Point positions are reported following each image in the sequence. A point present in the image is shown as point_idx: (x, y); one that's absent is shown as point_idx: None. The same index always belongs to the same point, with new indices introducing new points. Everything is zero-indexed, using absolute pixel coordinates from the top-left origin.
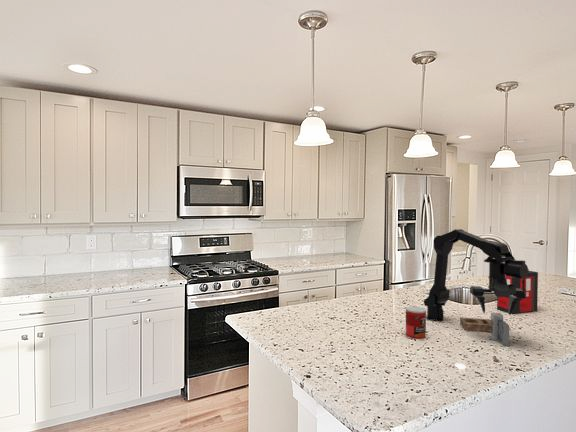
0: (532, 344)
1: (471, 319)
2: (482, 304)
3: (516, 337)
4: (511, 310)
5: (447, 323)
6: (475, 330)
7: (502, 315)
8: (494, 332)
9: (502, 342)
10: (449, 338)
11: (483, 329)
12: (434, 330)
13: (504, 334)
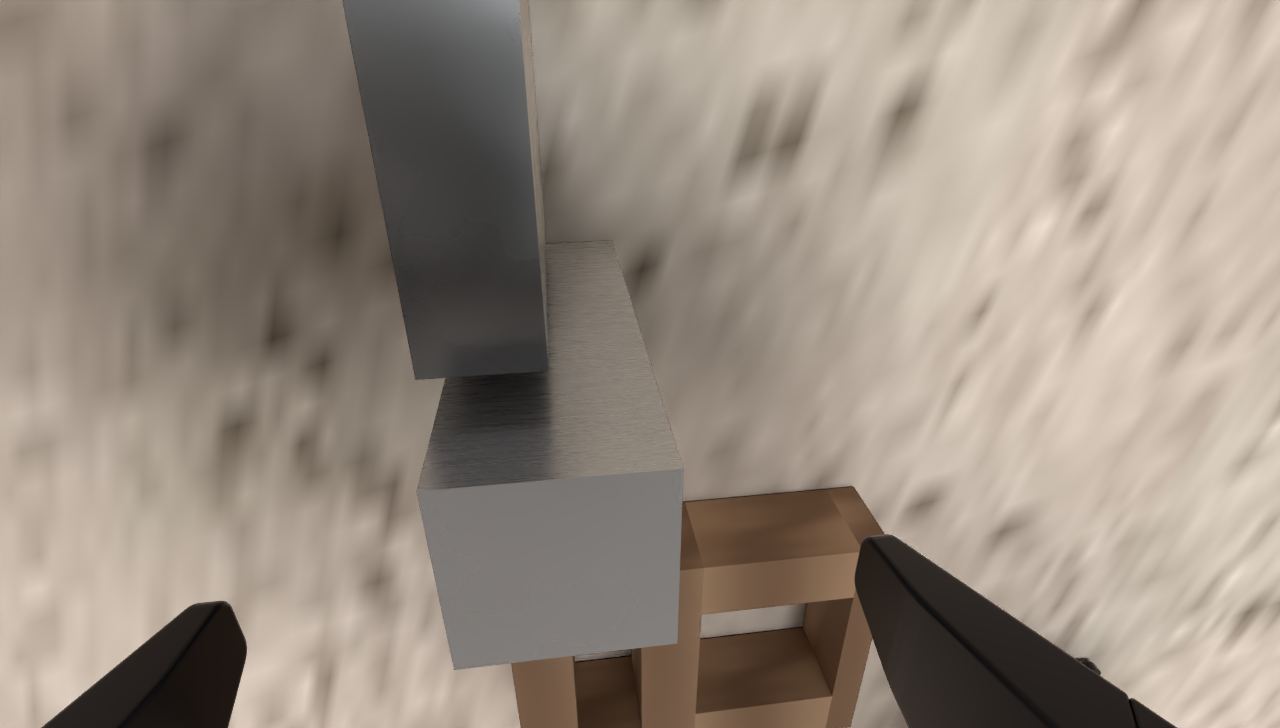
0: (49, 212)
1: (745, 707)
2: (1142, 724)
3: (270, 442)
4: (86, 712)
5: None
6: (741, 504)
7: (437, 498)
8: (604, 283)
9: (529, 18)
10: (1193, 133)
11: None
12: (1206, 387)
13: None
